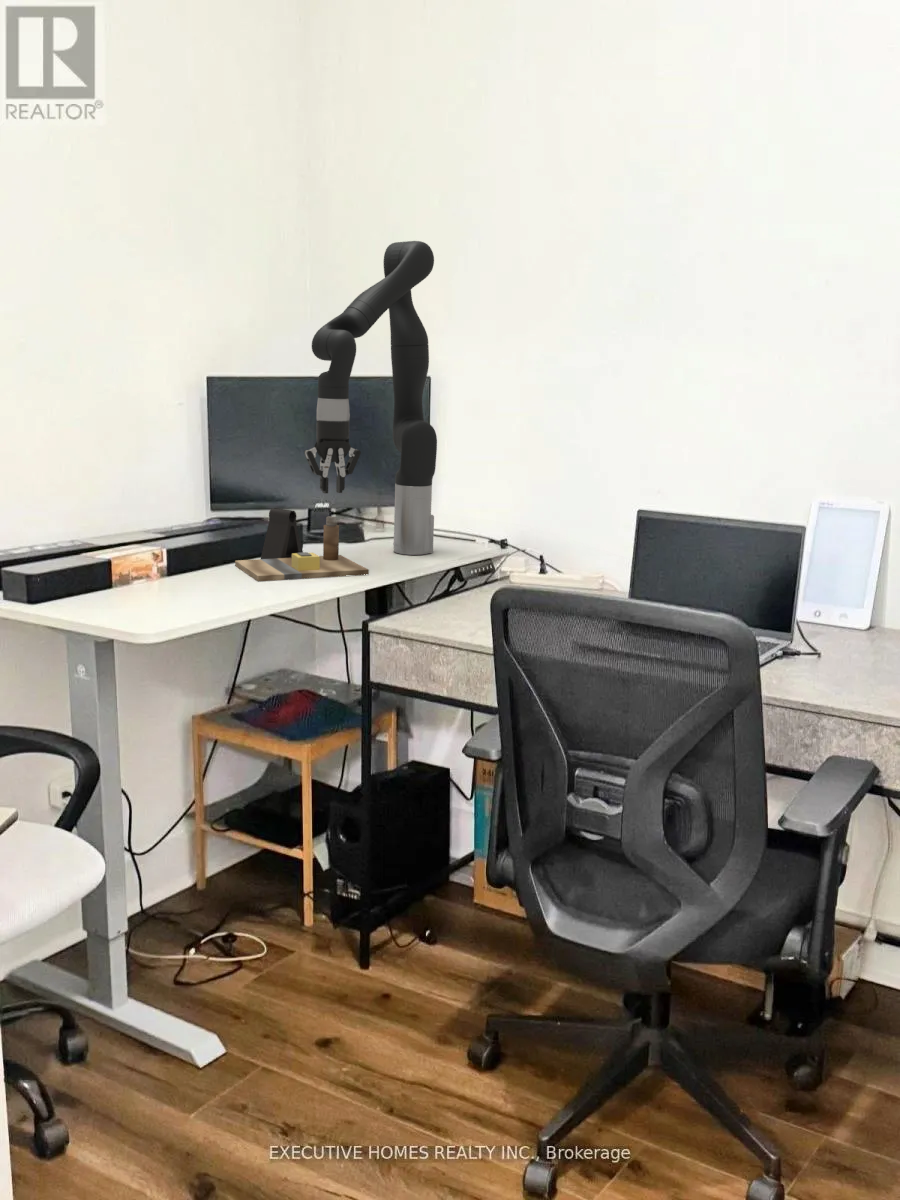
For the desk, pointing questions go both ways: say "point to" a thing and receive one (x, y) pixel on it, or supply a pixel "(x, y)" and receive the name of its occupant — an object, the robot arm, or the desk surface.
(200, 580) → the desk surface
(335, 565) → the panel
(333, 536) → the brown wooden bottle
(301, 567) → the block
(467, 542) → the desk surface
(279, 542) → the phone stand
